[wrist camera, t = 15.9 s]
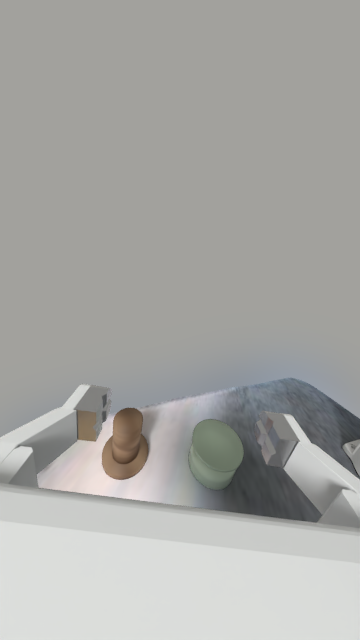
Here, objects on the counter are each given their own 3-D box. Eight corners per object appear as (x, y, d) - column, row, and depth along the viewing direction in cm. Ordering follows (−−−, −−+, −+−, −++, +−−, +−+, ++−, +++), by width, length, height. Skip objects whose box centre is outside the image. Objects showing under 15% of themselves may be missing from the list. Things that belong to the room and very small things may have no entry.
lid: (140, 428, 40) (143, 396, 37) (153, 466, 33) (159, 431, 30) (99, 442, 36) (99, 408, 33) (105, 489, 29) (106, 452, 26)
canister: (214, 433, 42) (220, 413, 40) (245, 476, 34) (254, 455, 32) (178, 448, 37) (183, 428, 35) (205, 503, 30) (214, 481, 28)
